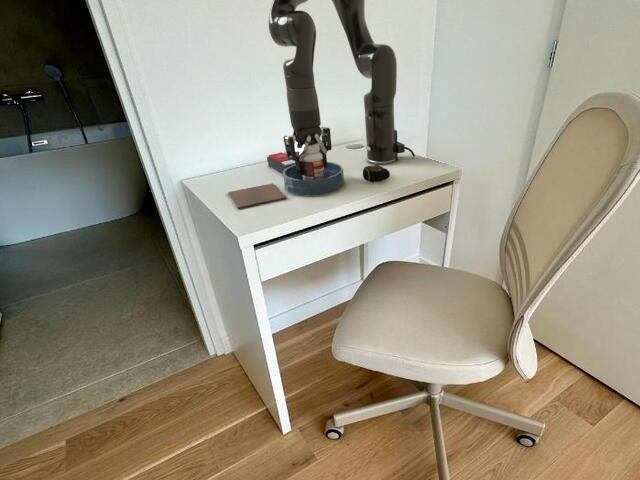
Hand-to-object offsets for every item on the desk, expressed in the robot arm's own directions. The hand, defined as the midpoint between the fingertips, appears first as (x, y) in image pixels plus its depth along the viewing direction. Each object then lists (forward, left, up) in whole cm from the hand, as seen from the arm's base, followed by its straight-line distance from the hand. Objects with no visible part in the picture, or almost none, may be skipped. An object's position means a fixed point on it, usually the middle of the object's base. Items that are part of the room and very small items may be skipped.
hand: (312, 170), depth 107 cm
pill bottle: (0, 0, -4) cm, 4 cm away
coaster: (+16, -1, -4) cm, 17 cm away
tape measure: (-17, +5, -5) cm, 18 cm away
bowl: (0, 0, -4) cm, 4 cm away
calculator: (0, -18, -5) cm, 19 cm away
